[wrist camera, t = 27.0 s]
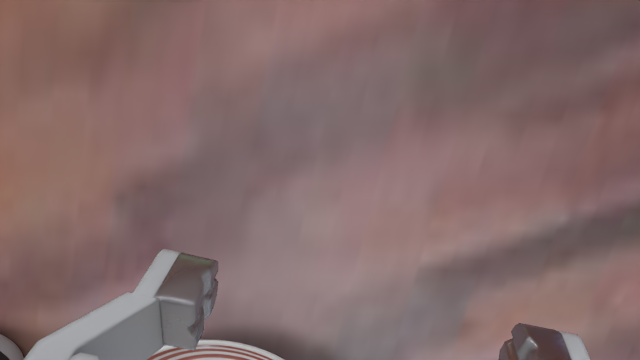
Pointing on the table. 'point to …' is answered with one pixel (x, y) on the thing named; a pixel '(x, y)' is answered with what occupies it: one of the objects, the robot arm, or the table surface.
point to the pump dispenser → (9, 350)
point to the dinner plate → (215, 352)
